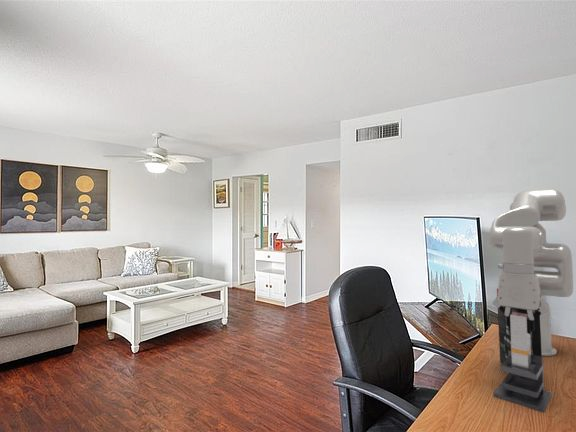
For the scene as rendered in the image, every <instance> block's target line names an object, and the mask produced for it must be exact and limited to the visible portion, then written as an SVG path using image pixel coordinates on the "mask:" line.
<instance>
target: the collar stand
mask: <svg viewBox="0 0 576 432" xmlns="http://www.w3.org/2000/svg"><path fill="white" fill-rule="evenodd" d="M500 372H505V373H507V375H506V376H505V377H504V379H503V380H502V381H501V382H500V384H499V385H498V387H497V388H496V389H495V391H493V397H494V398H498V399H500V400H504V401H507V402H510V403H513V404H516V405H520V406H522V407H526V408H529V409H532V410H536V411H539V412H542V413H545V411H546V410H547V407H548V405H549V403H550V401H551V398H552V397H553V394H552V391H548V390H545V378H544V377H545V376H544V375H545V373H544V356H542V357H540V356H536V355H531V367H530V368H529V369H528V370H527V369H523V368H519V367H515V366H512V355H511V350H508V358H507V359H506V360H505V361H504V363H503V364H502V363H501V365H500Z"/></svg>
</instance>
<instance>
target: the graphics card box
mask: <svg viewBox="0 0 576 432" xmlns="http://www.w3.org/2000/svg"><path fill="white" fill-rule="evenodd" d="M497 296H498V288H496V297H497ZM538 310H540V309H537V310H534V311H535V312H536V311H538ZM513 312H517V313H523V314H528V313H527V310H525V309H518V308H512V313H513ZM497 321H498V322H497V323H498V324H497V325H498V341H499V342H498V345H499V362H500V363H501V365H502V364H503V363H504V361H505V360H506V359H507V358H508V350H511V330H509V328H508V326H507V325H506V316H505V314H504V313H503V312H502V311H501V310H500V309H499V308H497ZM534 325H535V330H534V331H532V333H531V334H530V345H531V355H536V356H540V357H543V355H542V351H541V331H540V316H538V317H537V318H535V319H534Z"/></svg>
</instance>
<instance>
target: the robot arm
mask: <svg viewBox="0 0 576 432" xmlns="http://www.w3.org/2000/svg"><path fill="white" fill-rule="evenodd" d="M566 214H567V205H566V200H565V198H564V195H563V193H562V192H561V191H560V190H559V189H556V188H545V189H530V190H522V191H520V192H518V193H517V194H515V196H514V198H513V202H511V204H510V205H509V210H508V211H507V212H504V213H503V214H500V215H498V216H497V217H496V218H495V219H494V220H493V221H492V223H491V227H490V229H489V235H488V243H489V244H490V246H491V247H492V248H493V249H496V250H498V251H499V250H502V263H497V268H498V269H500V270H502V272H499V278H498V285H497V286H498V296H497V295H496V298H495V299H494V301H492V305H493V306H494V307H496V308H497V309H498V308H499V309H500V310H501V311H502V312H503V313H504V314H505V316H506V325H507V326H508V328H509V330H511V324H510V314H512V308H518V309H525V310H527V313H528V320H527V333H528V334H531V333H532V331H534V330H535V325H534V319H535V318H537V317H538V316H540V331H541V351H542V357H545V356H546V357H550V356H551V357H552V356H555V355H557V352H558V351H557V349H556V348H555V347H553V346H552V329H551V328H552V325H551V307H550V304H549V303H548V302H547V300H545V298H544V297H542V296H545V297H546V296H548V297H558V298H570V297H571V296H572V295H573V293H574V272H573V255H572V252H571V248H570V247H569V246H568V245H566V244H564V243H554V242H553V243H549V242H547V230H546V229H545V228H544V227H543V226H542V224H541V223H539V222H556V221H558V222H559V221H561V220H563V219H564V218H565V217H566ZM535 268H545V269H546V268H548V269H549V268H550V269H551V268H552V269H555V270H556V271H550V270H538V269H535ZM537 309H540V310H538V311H536V312H535V311H534V310H537Z"/></svg>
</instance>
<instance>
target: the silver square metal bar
mask: <svg viewBox="0 0 576 432" xmlns="http://www.w3.org/2000/svg"><path fill="white" fill-rule="evenodd" d="M527 320H528V314H523V313H517V312H513V313H512V314H510V324H511V355H512V366H515V367H519V368H523V369H527V370H528V369H529V368H530V367H531V345H530V334H528V333H527Z"/></svg>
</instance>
